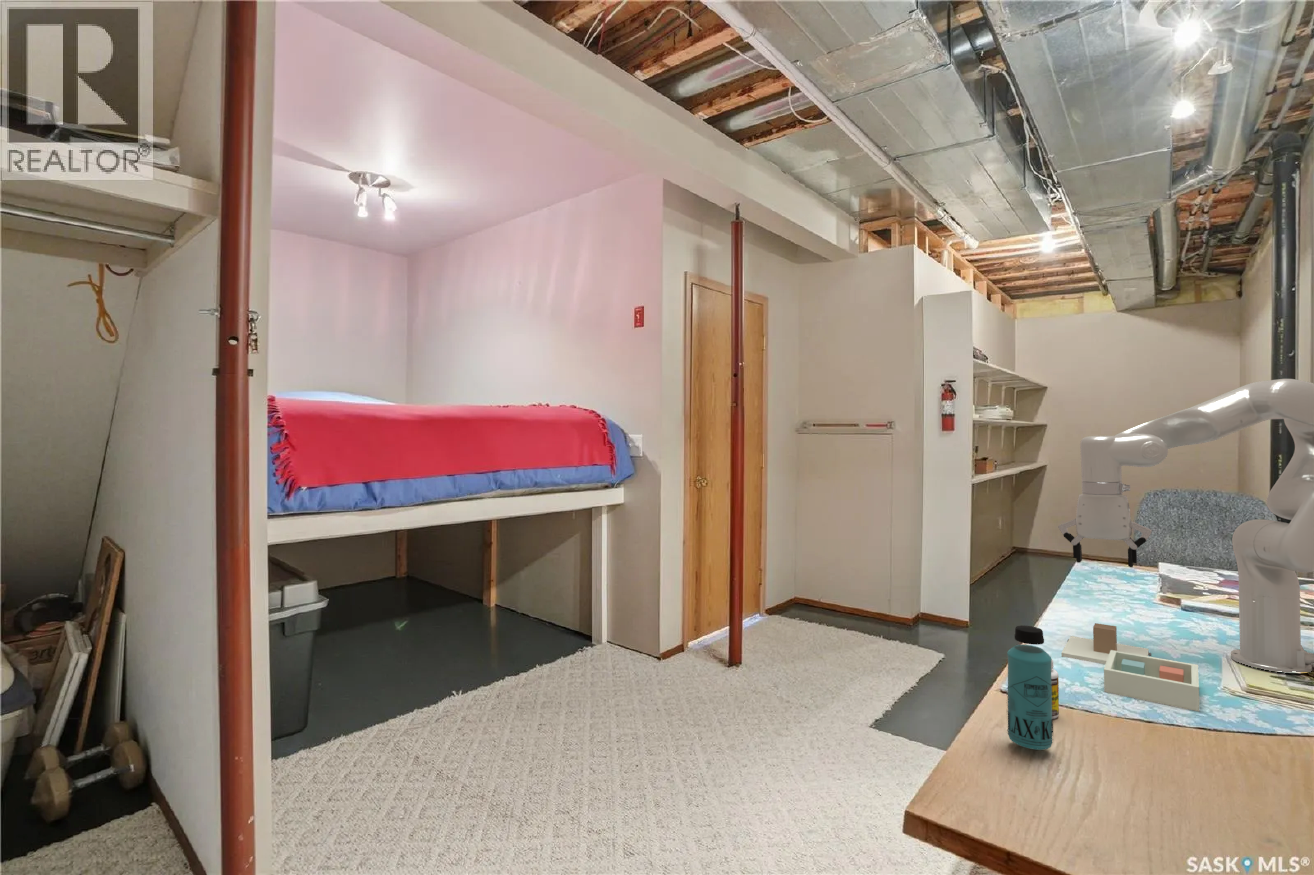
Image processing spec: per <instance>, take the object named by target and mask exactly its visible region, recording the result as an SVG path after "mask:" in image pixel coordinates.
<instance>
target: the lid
mask: <svg viewBox="0 0 1314 875" xmlns="http://www.w3.org/2000/svg"><path fill="white" fill-rule="evenodd" d="M1092 628H1093V630H1092V631H1093V634H1092V635H1093V639H1092V638H1091V639H1090V638H1086V637H1080V636H1074V635H1070V636H1069V638H1068V639H1069V640H1068V639H1067V641H1068V642H1066V643H1065V646H1064V647H1063V649H1062V651H1061V657H1063V658H1070V659H1073V660H1079V661H1084V662H1090V663H1094V664H1095V663H1096V664H1101V665H1104V666H1105V665H1106V662H1107V659H1108V656H1109V653H1110V651H1111V650H1114V651H1120V652H1126V653H1132V654H1138V655H1143V656H1148V655H1149V653H1150V652H1149V651H1150V650H1149V648H1145V647H1141V646H1133V645H1128V644H1122V643H1118V642H1117V640H1118V636H1117V635H1118V634H1117V632H1118V631H1117V628H1118V627H1117V626H1116V625H1110V624H1105V623H1094V625H1093V627H1092Z"/></svg>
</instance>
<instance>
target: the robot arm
mask: <svg viewBox="0 0 1314 875" xmlns="http://www.w3.org/2000/svg"><path fill="white" fill-rule="evenodd" d="M1269 420H1283V421H1284V425H1285V426H1286V428H1287V430H1288V431H1289V433H1290V435H1291V437H1292V439H1293V442H1294V451H1293V455H1292V457H1291V459H1290V461H1289V462H1288V464H1287V465H1286V467H1285V468H1284V470H1283V472H1281V474H1280V476H1279V478H1278V479H1277V480H1276V482H1275V484H1274V485H1273V486H1272V488H1271V489H1270V491H1269V493H1268V494H1267V497H1266V506H1267V508H1268V510H1269V511H1270V512H1271V513H1272V514H1274V515H1276V516H1277V517H1279V518H1282V519H1286V520H1289V521H1290V522H1289V523H1287V522H1283V521H1278V520H1277V521H1276V520H1272V519H1262V518H1261V519H1259V518H1258V519H1257V518H1256V519H1250V520H1248V521H1247V520H1246V521H1244V522H1243V523H1241V524H1240V525H1238V526H1237V527H1236V529H1234V531H1233V534H1232V539H1231V540H1232V541H1231V544H1232V549H1233V552H1234V556H1235V562H1236V566H1237V573H1238V574H1237V576H1238V614H1239V615H1238V617H1239V618H1238V620H1239V621H1238V622H1239V623H1238V624H1239V649H1234V650H1232V651H1230V658H1231V659H1232V660H1233V661H1235V662H1236V663H1238V662H1239V664H1241V663H1242V664H1241V665H1243V664H1245V665H1244V666H1246V665H1248V666H1247V667H1249V666H1251V667H1250V668H1253V667H1257V668H1261V669H1264V670H1263V671H1265V670H1269V671H1268V672H1271V671H1282V672H1292V671H1296V672H1310V673H1312V672H1313V666H1312V664H1314V652H1308V651H1307V650H1304V647H1303V646H1302V643H1301V642H1302V638H1301V637H1302V636H1301V632H1302V631H1301V587H1300V586H1301V585H1300V581H1299V578H1298V575H1297V572H1298V573H1312V572H1314V383H1313V382H1309V381H1306V380H1300V379H1294V378H1280V379H1279V378H1278V379H1270V380H1259V381H1255V382H1254V381H1253V382H1251V383H1247V384H1245V385H1242V386H1239V387H1238V388H1235V389H1233V390H1229V391H1228V392H1227V391H1226V392H1225V393H1222V394H1220V395H1218V396H1216V397H1213V398H1210V399H1208V400H1206V401H1203V402H1200V403H1198V404H1195V405H1193V406H1191V407H1188V408H1184V409H1181V410H1178V411H1176V412H1173V413H1170V414H1167V415H1164V416H1162V417H1159V418H1158V417H1157V418H1155V419H1153V420H1152V419H1151V420H1150V421H1147V422H1144V423H1141V424H1139V425H1136V426H1134V427H1131V428H1127V429H1126V430H1124V431H1121V432H1119V433H1117V434H1115V435H1091V436H1089V435H1088V436H1085V437H1082V439H1081V440H1080V444H1079V445H1080V468H1081V469H1080V470H1081V474H1080V475H1081V494H1078V498H1077V504H1076V515H1075V518H1074V519H1071V520H1069V521H1066V522H1064V523H1060V524H1059V525H1058V529H1059V530H1060V532H1061V534H1062V536H1063V537H1064V539H1066V540H1067V541H1068V542H1069V543H1070V544H1071V546H1072V554H1073V555H1072V556H1073V559H1076V563H1077V564H1079V563H1082V561H1083V552H1082V549H1083V547H1082V544H1081V541H1082V540H1083V539H1093V540H1095V539H1096V540H1106V541H1107V540H1110V541H1123V542H1124V543H1125V544H1126V545H1127V546H1128V548H1127V563H1128V567H1129V568H1134V567H1133V566H1134V564H1137V563H1138V557H1137V556H1138V554H1137V552H1138V551H1137V549H1139V548H1140V547H1141V546H1142V545H1143V544H1145V543H1146V542H1147V540H1148V539H1149V537H1150V536H1151V534H1152V531H1153V530H1152V529H1150V528H1149V527H1146V526H1144V525H1141V524H1139V523H1137V522H1134V521H1132V518H1131V508H1130V503H1129V498H1128V496H1127V495H1123V493H1124V492H1128V491H1129V492H1130V491H1131V484H1124V482H1123V472H1122V471H1123V469H1122V467H1123V466H1125V467H1126V466H1128V467H1135V468H1150V467H1155V466H1157V465H1160V464H1161V463H1162V462H1164V461H1165V459H1166V458H1167V457H1168V453H1169V449H1172V448H1178V447H1183V446H1184V447H1185V446H1192V445H1199V444H1204V443H1205V444H1206V443H1209V442H1210V443H1211V442H1214V441H1217V440H1220V439H1222V438H1224V437H1228V436H1229V435H1232V434H1234V433H1236V432H1239V431H1242V430H1244V429H1247V428H1250V427H1252V426H1254V425H1257V424H1260V423H1263V422H1265V421H1269ZM1074 526H1075V530H1076V536H1074V535H1073V534H1071V533H1070V531H1069V530H1068V529H1069V528H1071V527H1074ZM1132 529H1133V530H1136V531H1137V532H1139V533H1141V535H1140V537H1139V538H1137V539H1136V540H1135V539H1133V538H1132V537H1131V536H1132ZM1257 668H1256V669H1257ZM1261 669H1260V670H1261ZM1311 671H1312V672H1311Z"/></svg>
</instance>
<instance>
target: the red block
mask: <svg viewBox="0 0 1314 875" xmlns="http://www.w3.org/2000/svg"><path fill="white" fill-rule="evenodd" d="M1159 678H1161V679H1167V680H1172V681H1177V682H1183V683H1184V672H1183V669H1177V668H1172V667H1166V666H1160V670H1159Z"/></svg>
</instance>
